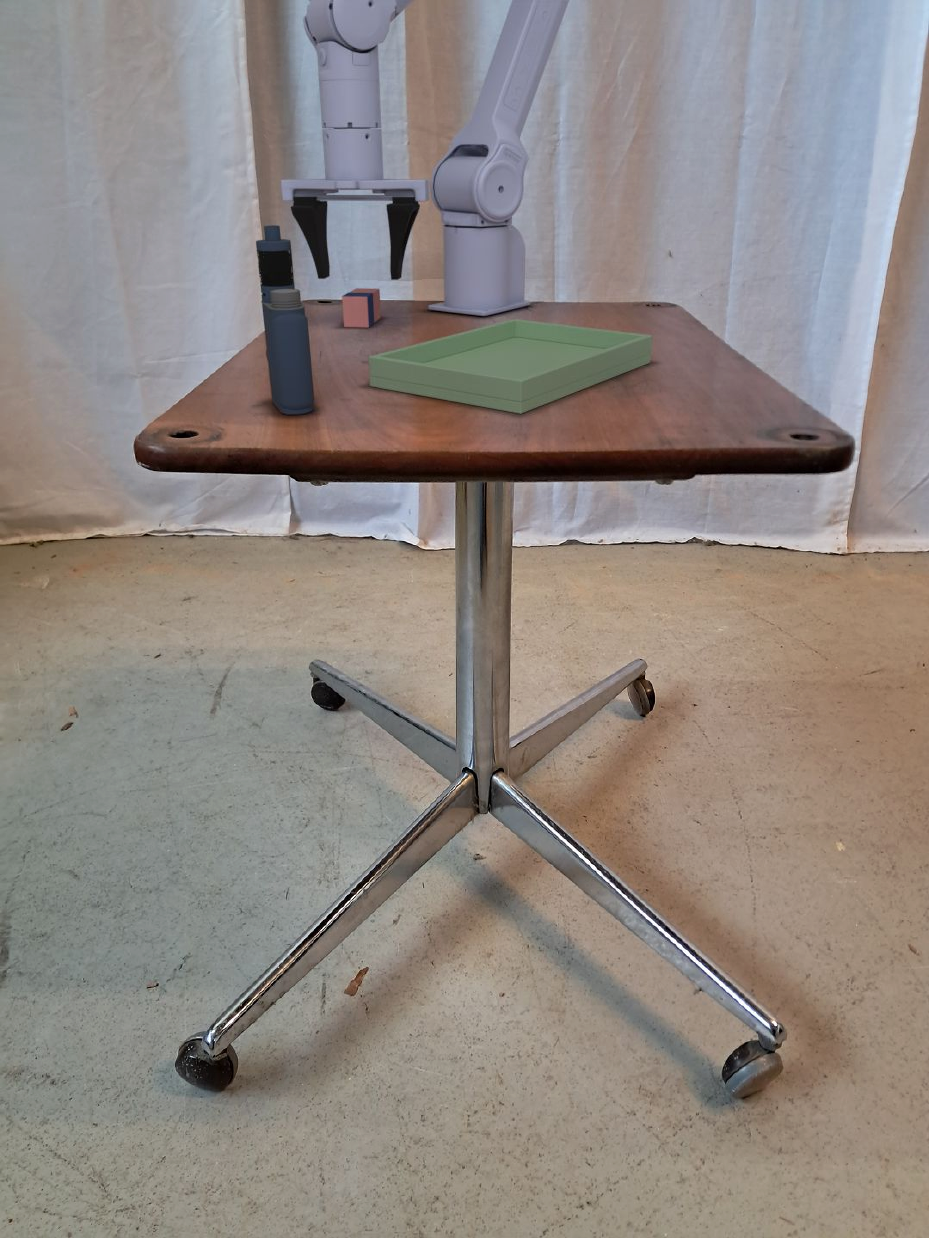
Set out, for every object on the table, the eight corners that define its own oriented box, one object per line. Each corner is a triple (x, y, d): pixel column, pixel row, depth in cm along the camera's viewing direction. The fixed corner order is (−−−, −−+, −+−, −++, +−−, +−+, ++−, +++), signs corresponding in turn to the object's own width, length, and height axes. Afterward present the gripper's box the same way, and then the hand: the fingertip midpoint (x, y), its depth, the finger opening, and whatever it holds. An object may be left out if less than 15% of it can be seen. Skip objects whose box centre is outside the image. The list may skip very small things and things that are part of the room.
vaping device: (302, 396, 69) (287, 224, 63) (318, 413, 65) (303, 230, 59) (268, 400, 68) (249, 225, 63) (282, 417, 64) (263, 231, 58)
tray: (513, 344, 86) (513, 318, 85) (650, 362, 78) (652, 335, 77) (369, 386, 72) (368, 356, 71) (520, 414, 64) (521, 381, 63)
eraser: (357, 317, 99) (355, 287, 98) (381, 318, 99) (380, 288, 98) (343, 327, 94) (341, 296, 93) (369, 328, 94) (367, 296, 92)
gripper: (266, 129, 86) (280, 282, 92) (418, 128, 84) (422, 284, 90) (288, 130, 92) (300, 273, 98) (431, 129, 90) (433, 275, 96)
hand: (359, 278), depth 94 cm, fingers open, 7 cm apart
